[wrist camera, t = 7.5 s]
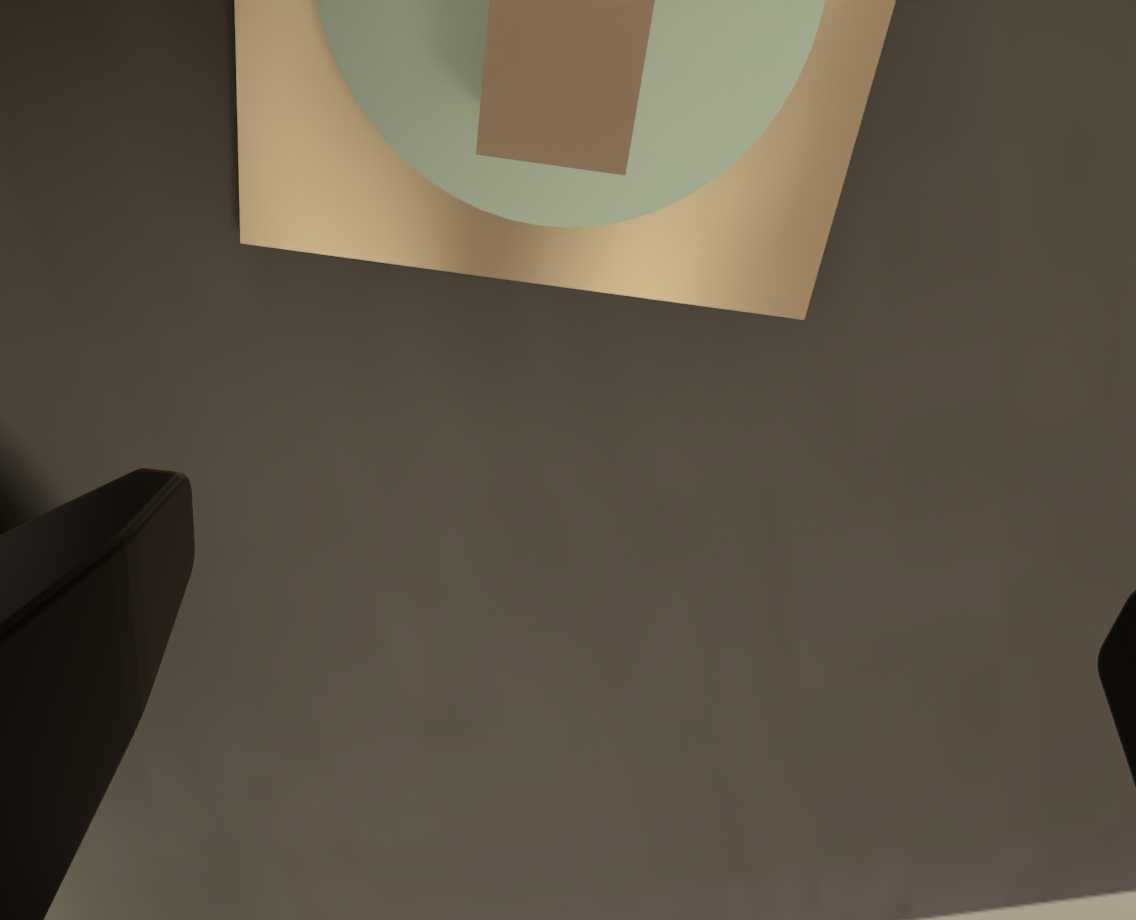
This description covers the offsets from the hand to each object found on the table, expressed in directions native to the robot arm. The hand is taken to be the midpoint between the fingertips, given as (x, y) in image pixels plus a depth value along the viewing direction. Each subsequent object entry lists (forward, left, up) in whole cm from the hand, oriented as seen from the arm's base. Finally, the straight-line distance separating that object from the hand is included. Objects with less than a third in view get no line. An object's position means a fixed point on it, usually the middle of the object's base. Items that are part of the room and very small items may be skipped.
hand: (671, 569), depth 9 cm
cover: (+1, -4, -12) cm, 13 cm away
